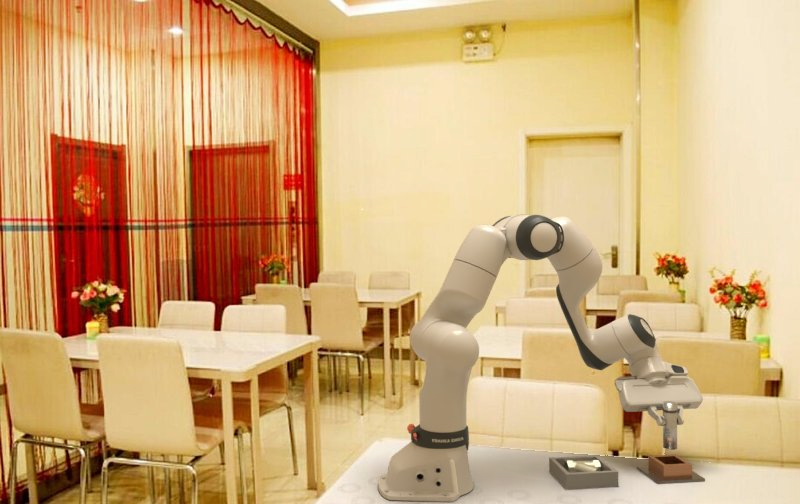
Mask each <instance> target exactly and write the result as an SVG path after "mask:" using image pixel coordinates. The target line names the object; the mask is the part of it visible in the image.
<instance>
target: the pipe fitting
mask: <svg viewBox="0 0 800 504" xmlns="http://www.w3.org/2000/svg"><path fill="white" fill-rule="evenodd" d="M565 469H566V470H567V471H568V472H569V473H575V472H593V471H601V464H600V462H599V460H592V461H573V460H567V461H565Z"/></svg>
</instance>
